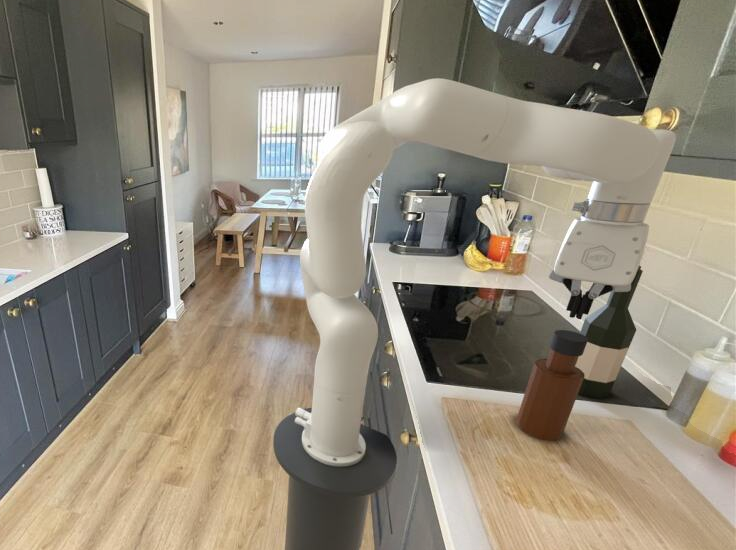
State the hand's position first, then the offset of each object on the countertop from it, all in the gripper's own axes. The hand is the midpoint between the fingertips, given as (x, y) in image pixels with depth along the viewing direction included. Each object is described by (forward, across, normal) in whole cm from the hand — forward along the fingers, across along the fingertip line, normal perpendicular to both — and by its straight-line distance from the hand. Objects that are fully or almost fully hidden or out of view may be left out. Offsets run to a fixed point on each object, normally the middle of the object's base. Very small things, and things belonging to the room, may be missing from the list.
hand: (575, 315), depth 71 cm
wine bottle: (+25, +8, +25) cm, 36 cm away
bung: (+10, 0, 0) cm, 10 cm away
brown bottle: (+25, +1, +1) cm, 25 cm away
